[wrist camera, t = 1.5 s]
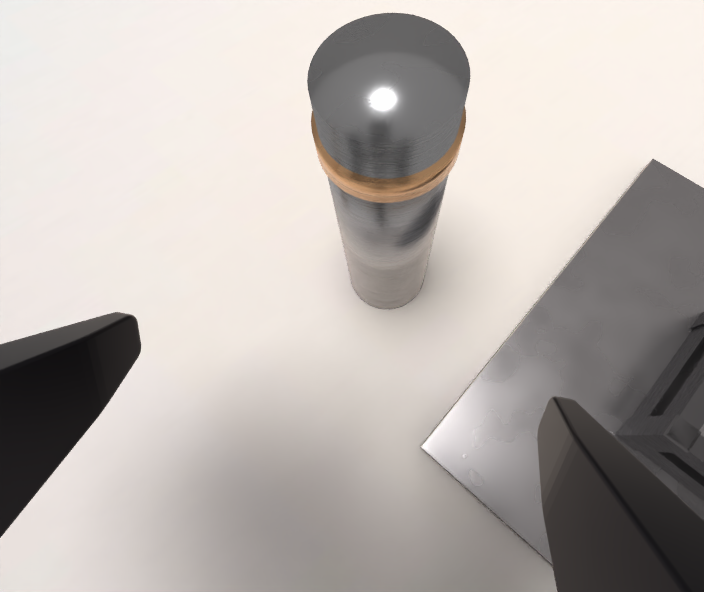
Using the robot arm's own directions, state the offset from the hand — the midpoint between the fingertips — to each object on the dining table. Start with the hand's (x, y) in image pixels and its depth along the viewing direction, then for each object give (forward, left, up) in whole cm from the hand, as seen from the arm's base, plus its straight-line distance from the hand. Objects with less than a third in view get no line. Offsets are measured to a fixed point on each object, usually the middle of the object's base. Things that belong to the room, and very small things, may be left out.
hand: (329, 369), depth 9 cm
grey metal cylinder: (+5, +5, -13) cm, 15 cm away
